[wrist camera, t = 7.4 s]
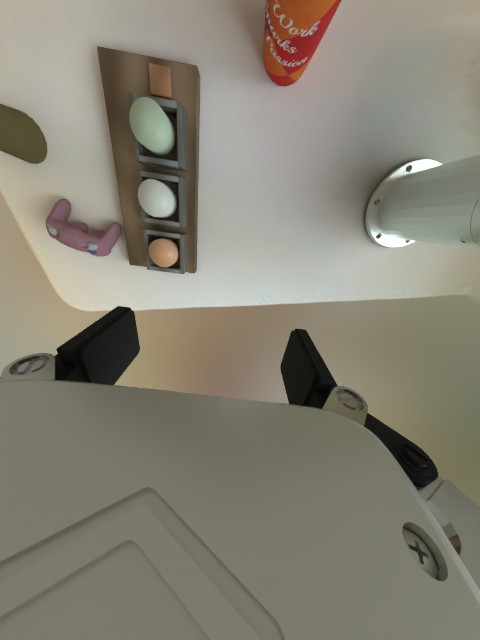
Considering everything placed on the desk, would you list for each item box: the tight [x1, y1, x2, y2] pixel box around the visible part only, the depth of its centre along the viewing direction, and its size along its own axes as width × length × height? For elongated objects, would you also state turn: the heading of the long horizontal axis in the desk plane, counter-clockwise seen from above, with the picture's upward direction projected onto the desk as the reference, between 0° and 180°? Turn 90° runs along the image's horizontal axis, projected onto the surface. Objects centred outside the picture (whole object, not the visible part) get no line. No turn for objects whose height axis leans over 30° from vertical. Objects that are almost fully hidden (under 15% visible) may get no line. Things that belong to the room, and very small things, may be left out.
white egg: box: [138, 179, 177, 217], centre depth 27 cm, size 4×4×3 cm
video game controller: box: [46, 199, 121, 256], centre depth 31 cm, size 10×5×7 cm, turn 65°
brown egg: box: [149, 238, 180, 267], centre depth 32 cm, size 4×4×3 cm
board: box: [97, 46, 200, 274], centre depth 28 cm, size 12×26×4 cm, turn 172°
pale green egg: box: [129, 97, 175, 156], centre depth 23 cm, size 4×4×3 cm
